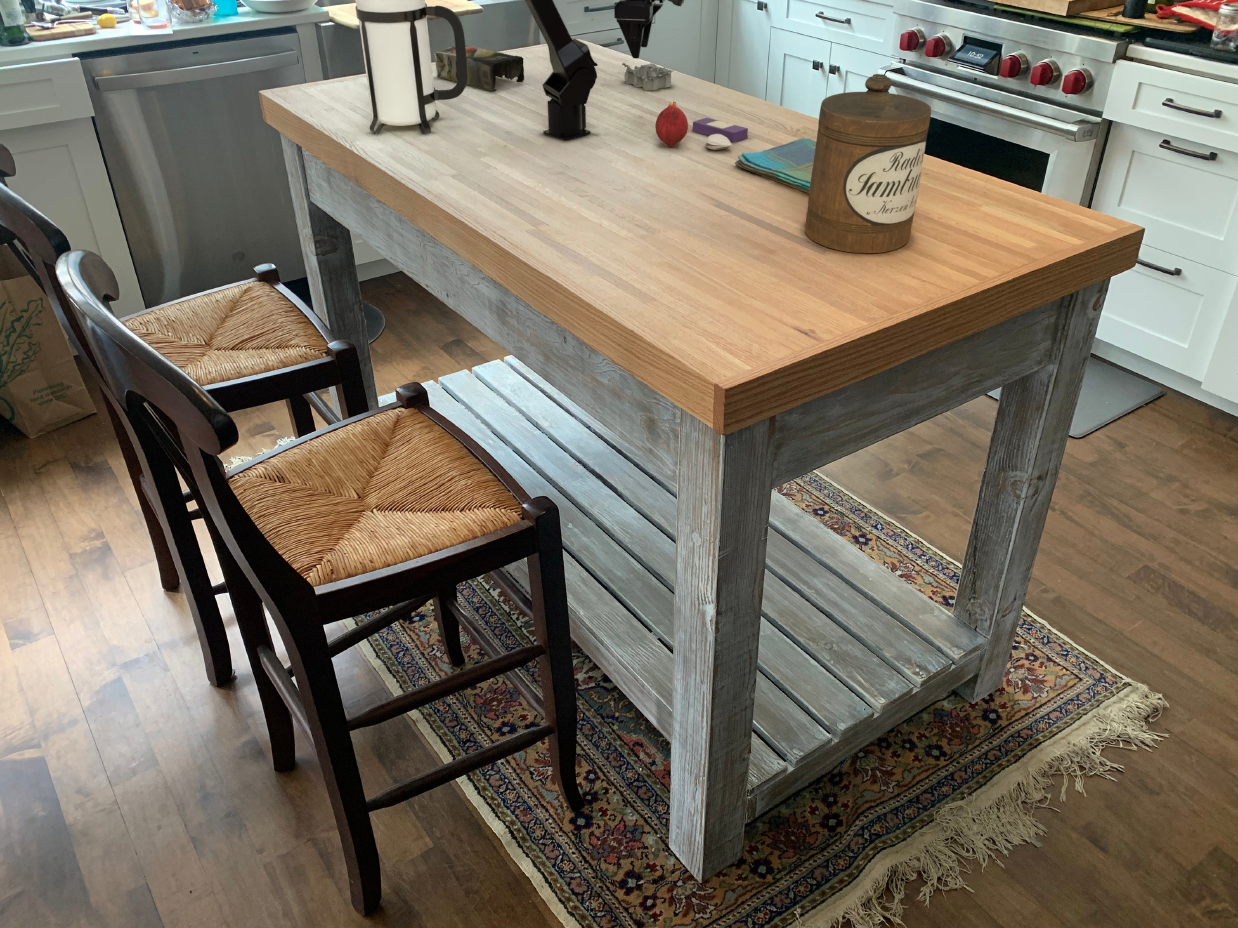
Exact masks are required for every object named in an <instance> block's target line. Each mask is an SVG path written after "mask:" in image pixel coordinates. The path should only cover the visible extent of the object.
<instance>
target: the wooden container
mask: <svg viewBox="0 0 1238 928" xmlns="http://www.w3.org/2000/svg"><path fill="white" fill-rule="evenodd" d="M864 87H865V88H866V90H865V91H848V92H840V93H836V94H832V95H829V96H827V97H825V98H824V99H823V100H822V101H821V103H820V109H819V113H818V114H819V115H818V123H817V124H818V125H817V127H818V128H817V134H816V141H815V142H816V148H815V155H814V162H813V169H812V175H811V182H810V189H809V193H808V198H807V210H806V218H805V227H804V232H805V234H806V236H807V237H808V238H809V239H810V240H811V241H813V242H815V243H816V244H819V245H821V246H823V247H826V248H829V249H832V250H835V251H840V252H846V253H854V254H879V253H881V254H882V253H886V252H891V251H895V250H898V249H900V248H902V247H904V246H905V245H906V244H907V243H908V242H909V240H910V238H911V232H912V229H913V223H914V215H915V212H916V207H917V202H918V197H919V189H920V184H921V177H922V171H923V163H924V157H925V151H926V145H927V138H928V132H929V128H930V123H931V116H932V108H931V106H930V105H929V104H928V103H927V102H925V101H923V100H921V99H917V98H914V97H912V96H907V95H904V94H898V93H891V92H890V91H889V90H890V89H891V87H892V79H891V78H890V77H888V76H887V75H886V74H883V73H881V74H880V73H875V74H874V73H873V74H872V75H871V76H869V77H868V78H867V79H866V80H865V83H864Z"/></svg>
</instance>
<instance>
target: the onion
mask: <svg viewBox="0 0 1238 928" xmlns="http://www.w3.org/2000/svg"><path fill="white" fill-rule="evenodd" d="M654 127H655V134H656V135H657V138H658V139H659V140H660V141H661V142H662V143H663V144H664V145H666V146H667V147H668V148H674V147H675V146H676V145H678V144H679V143H680V142H681V141H682V140H684V138H685V137H686V136H687V134H688V132H689V131H688V129H689V122H688V118H687V115H686V114H685V112H684V111H683V110H682V109H681V108H680V107H678V106H677V102H676V101H675V100H671V101H669V104H668V105H667V107H665V108H664V109H662V110H661V111H660V112H659V114H658V116H657V117H656V120H655V125H654Z"/></svg>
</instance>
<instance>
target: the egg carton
mask: <svg viewBox="0 0 1238 928" xmlns="http://www.w3.org/2000/svg"><path fill="white" fill-rule="evenodd" d="M621 65H622V66H624V68H626V70H625V72H624V83H625V84H626V85H633V87H634V88H635V87H636V88H643V90H644V91H658V89H662V88H671V86H672V73H673V72H674V71H675V69H670V68H669V69H668V68H667V67H665V66H663V67H662V66H658V65H656V64H655V63H653V62H651V63H648V64H647V63H646V64H641V65H640V66H637V65H635V66H634V69H633V68H631V66H630V65H629V64H626V63H625V62H622V64H621Z"/></svg>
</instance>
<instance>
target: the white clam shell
mask: <svg viewBox="0 0 1238 928" xmlns="http://www.w3.org/2000/svg"><path fill="white" fill-rule="evenodd" d="M705 142H706V143H705V147H706V148H708V149H710V150H712V151H718V150H724V149H728V148H731V147H732V146H733V145H732V144H733V143H732V142H730V141H729V139H728V138H727V137H725V136H723V135H721V134H713V135H710V136H707V137H706V139H705Z"/></svg>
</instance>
